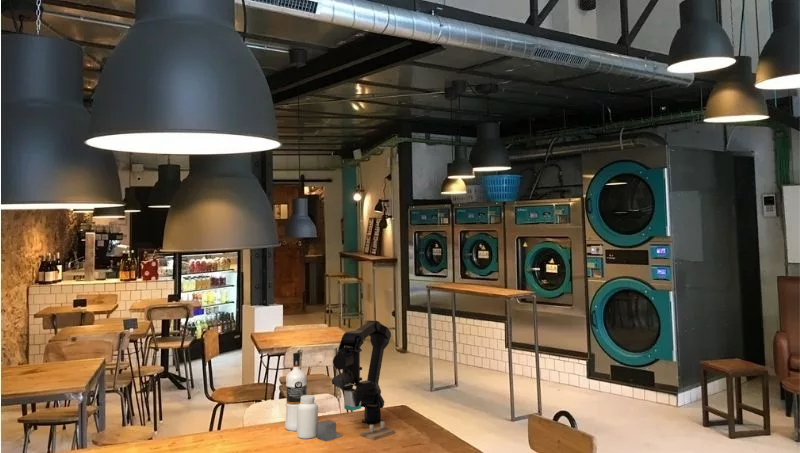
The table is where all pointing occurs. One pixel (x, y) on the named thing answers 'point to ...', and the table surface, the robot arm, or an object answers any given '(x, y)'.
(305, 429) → the pill bottle
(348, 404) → the sleeve
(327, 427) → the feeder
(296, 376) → the vodka
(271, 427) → the table surface
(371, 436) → the pin board
